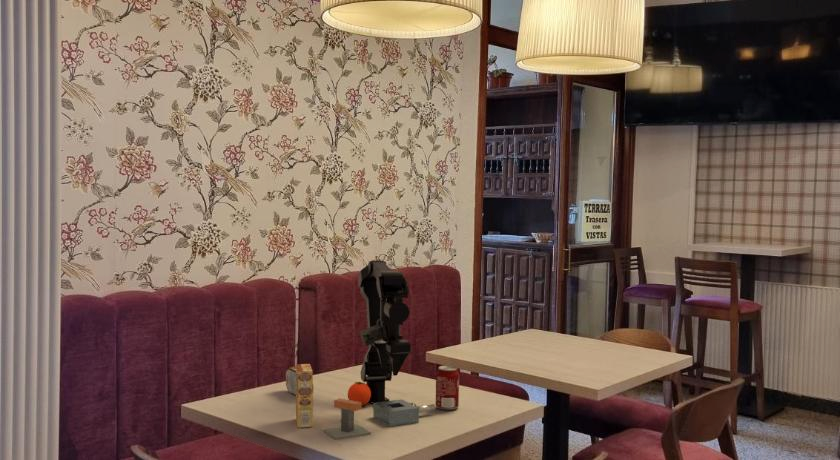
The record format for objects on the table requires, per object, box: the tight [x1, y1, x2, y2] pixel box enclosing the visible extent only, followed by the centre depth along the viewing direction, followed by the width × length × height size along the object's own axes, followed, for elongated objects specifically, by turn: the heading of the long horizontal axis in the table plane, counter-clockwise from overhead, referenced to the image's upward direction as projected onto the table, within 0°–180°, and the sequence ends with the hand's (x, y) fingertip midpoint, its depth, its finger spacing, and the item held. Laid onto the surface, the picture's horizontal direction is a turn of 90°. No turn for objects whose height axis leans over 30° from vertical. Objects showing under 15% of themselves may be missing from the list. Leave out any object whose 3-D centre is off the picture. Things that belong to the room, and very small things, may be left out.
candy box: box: [295, 363, 314, 428], centre depth 217 cm, size 9×4×15 cm, turn 13°
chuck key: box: [333, 398, 362, 433], centre depth 209 cm, size 2×7×8 cm, turn 60°
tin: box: [284, 365, 296, 397], centre depth 246 cm, size 15×3×8 cm, turn 34°
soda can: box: [435, 365, 460, 411], centre depth 235 cm, size 7×7×12 cm
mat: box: [323, 423, 372, 440], centre depth 209 cm, size 8×10×1 cm
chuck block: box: [372, 399, 436, 427], centre depth 224 cm, size 10×17×4 cm, turn 119°
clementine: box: [347, 381, 371, 407], centre depth 236 cm, size 8×7×7 cm
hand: (389, 371), depth 225 cm, fingers open, 9 cm apart
